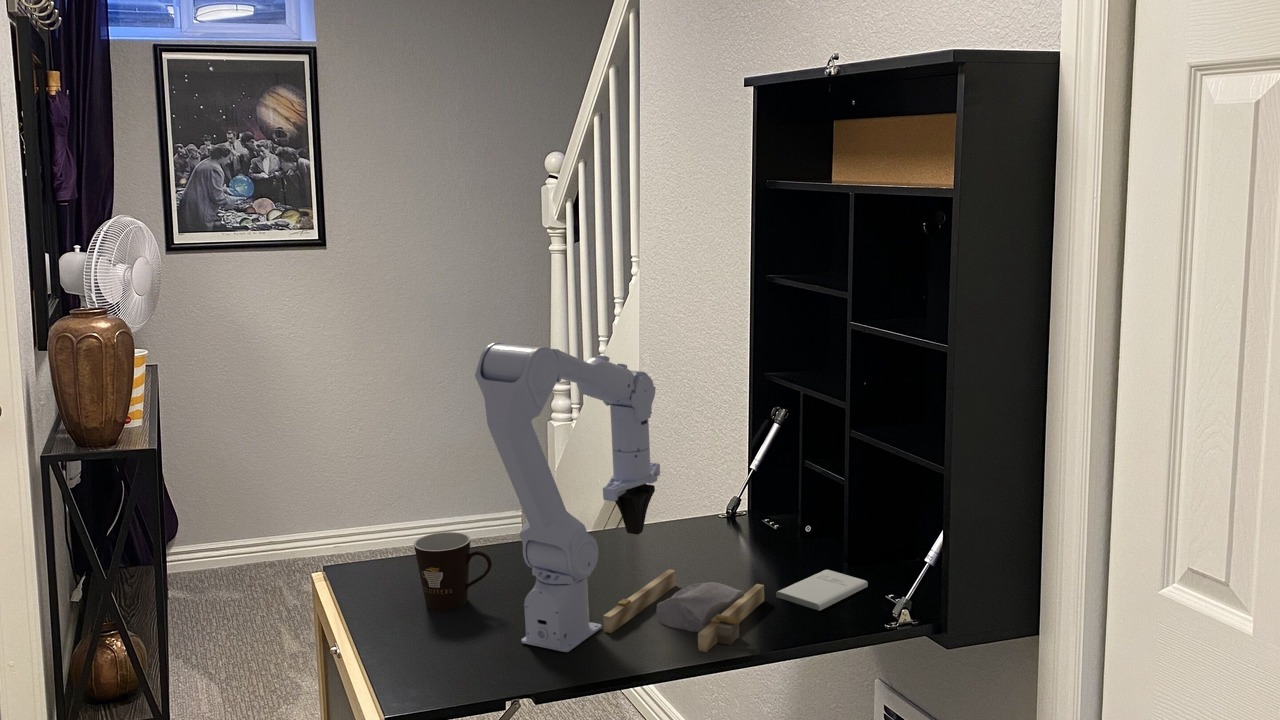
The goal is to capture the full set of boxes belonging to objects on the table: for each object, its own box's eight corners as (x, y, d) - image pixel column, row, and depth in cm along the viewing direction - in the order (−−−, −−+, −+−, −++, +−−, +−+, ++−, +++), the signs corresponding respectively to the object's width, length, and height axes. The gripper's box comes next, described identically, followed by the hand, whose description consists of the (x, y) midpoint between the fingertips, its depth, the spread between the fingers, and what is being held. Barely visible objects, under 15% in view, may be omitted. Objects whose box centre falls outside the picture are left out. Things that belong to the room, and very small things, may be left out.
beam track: (723, 655, 159) (722, 631, 159) (604, 631, 168) (602, 609, 168) (780, 603, 176) (779, 581, 176) (668, 584, 186) (668, 563, 185)
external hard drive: (776, 600, 179) (825, 577, 187) (819, 614, 173) (868, 590, 182) (776, 590, 179) (825, 567, 187) (819, 604, 173) (868, 580, 181)
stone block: (652, 634, 172) (707, 636, 165) (646, 603, 171) (701, 603, 165) (697, 610, 181) (751, 611, 175) (692, 580, 181) (746, 579, 175)
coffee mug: (407, 604, 182) (402, 543, 180) (451, 587, 188) (447, 528, 186) (454, 623, 174) (449, 559, 172) (498, 605, 180) (494, 543, 178)
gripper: (630, 462, 170) (634, 551, 172) (675, 438, 182) (679, 521, 185) (589, 457, 173) (593, 544, 176) (636, 434, 185) (639, 515, 188)
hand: (634, 532), depth 180 cm, fingers closed
